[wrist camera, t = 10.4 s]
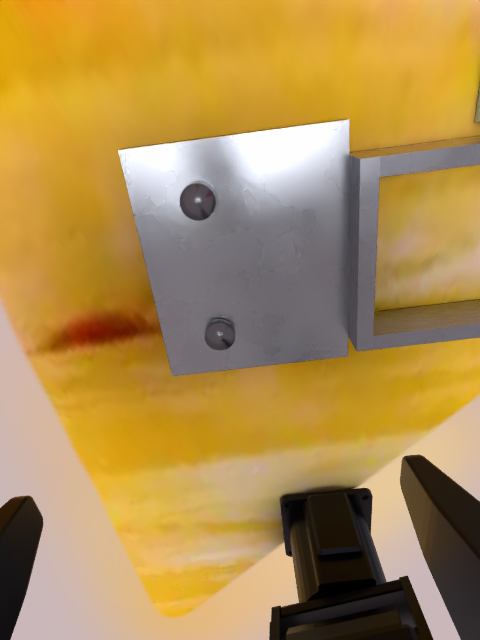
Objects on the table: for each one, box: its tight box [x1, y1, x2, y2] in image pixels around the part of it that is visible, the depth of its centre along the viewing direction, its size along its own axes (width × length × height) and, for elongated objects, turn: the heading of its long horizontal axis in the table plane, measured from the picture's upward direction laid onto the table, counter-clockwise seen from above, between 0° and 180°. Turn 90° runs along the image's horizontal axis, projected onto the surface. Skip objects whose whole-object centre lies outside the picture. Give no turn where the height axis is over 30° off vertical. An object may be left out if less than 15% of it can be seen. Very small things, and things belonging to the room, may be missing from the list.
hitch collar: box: [118, 119, 480, 376], centre depth 19 cm, size 12×19×2 cm, turn 97°
